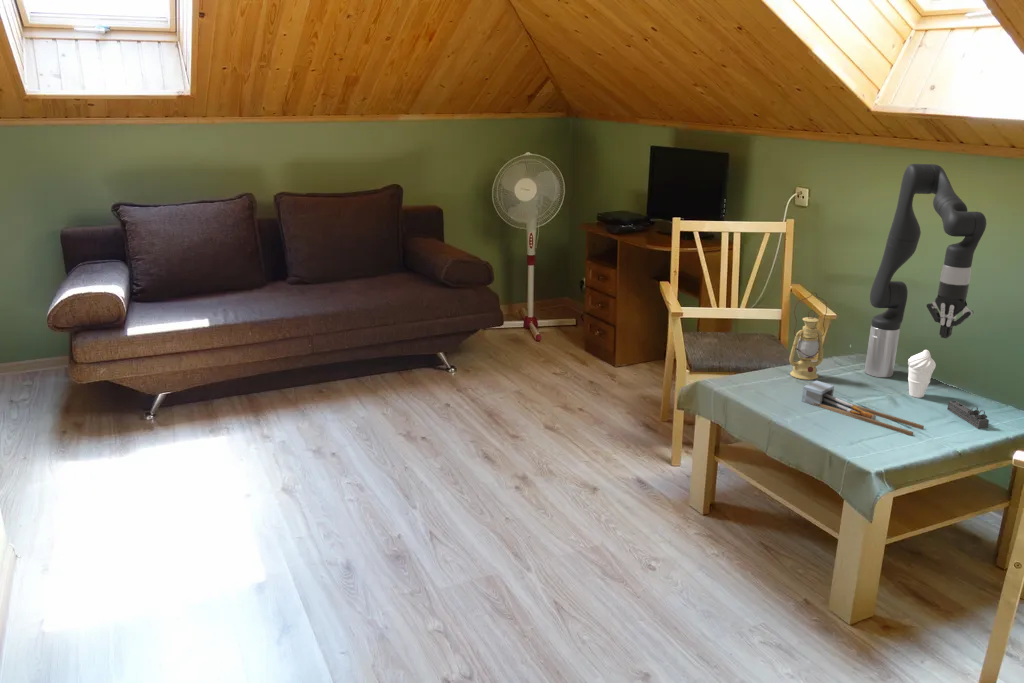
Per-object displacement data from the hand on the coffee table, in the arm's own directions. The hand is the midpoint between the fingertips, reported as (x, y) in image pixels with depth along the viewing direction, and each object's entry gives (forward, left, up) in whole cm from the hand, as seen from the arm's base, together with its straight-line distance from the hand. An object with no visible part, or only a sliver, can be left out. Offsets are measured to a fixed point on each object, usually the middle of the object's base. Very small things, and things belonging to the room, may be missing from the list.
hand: (944, 337), depth 241 cm
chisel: (+12, -21, -27) cm, 36 cm away
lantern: (-6, -46, -27) cm, 53 cm away
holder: (+12, -17, -27) cm, 34 cm away
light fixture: (-10, +7, -27) cm, 30 cm away
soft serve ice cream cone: (-17, -12, -27) cm, 34 cm away
